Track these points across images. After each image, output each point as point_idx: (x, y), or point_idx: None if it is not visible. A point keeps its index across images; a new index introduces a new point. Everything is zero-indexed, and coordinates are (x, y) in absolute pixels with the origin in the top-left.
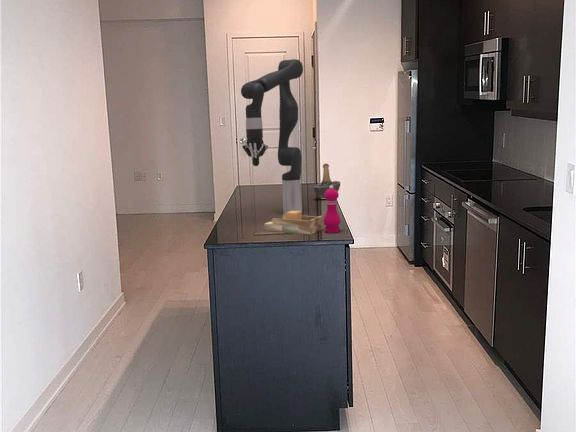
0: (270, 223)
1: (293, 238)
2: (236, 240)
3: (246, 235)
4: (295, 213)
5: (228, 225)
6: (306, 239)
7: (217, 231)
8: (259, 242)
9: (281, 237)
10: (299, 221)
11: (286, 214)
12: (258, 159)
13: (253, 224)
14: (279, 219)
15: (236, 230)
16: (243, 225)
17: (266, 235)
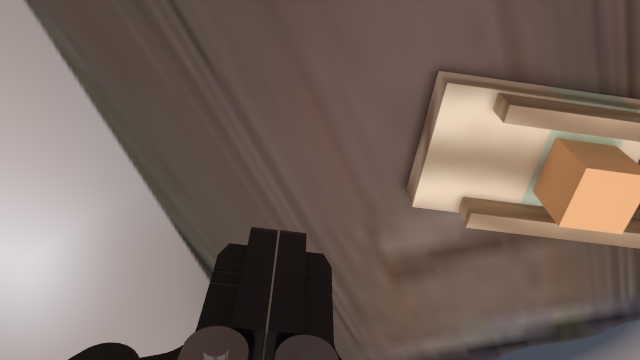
0: (443, 198)
1: (571, 289)
2: (354, 346)
3: (360, 282)
4: (616, 233)
5: (164, 123)
6: (627, 292)
7: (194, 246)
8: (450, 354)
9: (518, 284)
10: (621, 244)
11: (555, 220)
12: (326, 335)
13: (289, 71)
14: (509, 231)
15: (270, 214)
16: (246, 107)
17: (445, 268)
